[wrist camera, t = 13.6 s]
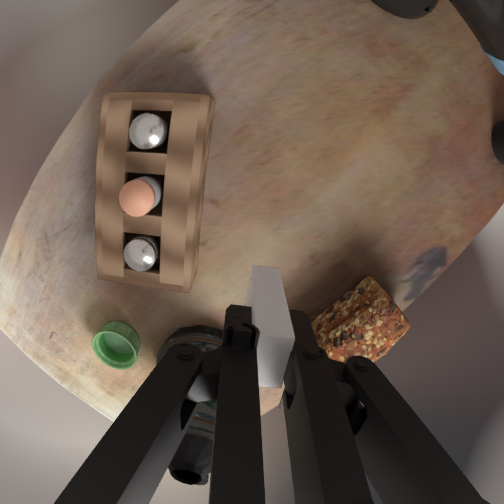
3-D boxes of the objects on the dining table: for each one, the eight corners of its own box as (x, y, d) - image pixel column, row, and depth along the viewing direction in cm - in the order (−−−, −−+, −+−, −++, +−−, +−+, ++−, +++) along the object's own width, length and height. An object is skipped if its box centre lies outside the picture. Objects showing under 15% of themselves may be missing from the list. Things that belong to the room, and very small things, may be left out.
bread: (367, 269, 49) (392, 297, 39) (396, 306, 52) (420, 336, 42) (285, 336, 53) (292, 374, 44) (320, 366, 56) (331, 402, 47)
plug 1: (147, 116, 38) (131, 113, 32) (177, 117, 38) (165, 114, 32) (144, 146, 40) (127, 148, 33) (173, 148, 40) (161, 150, 34)
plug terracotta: (137, 172, 39) (119, 179, 33) (167, 174, 39) (154, 181, 33) (135, 203, 41) (118, 214, 35) (165, 206, 41) (152, 218, 35)
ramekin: (149, 332, 52) (143, 347, 48) (135, 362, 55) (129, 377, 51) (106, 309, 51) (97, 322, 47) (96, 341, 53) (87, 354, 49)
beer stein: (215, 308, 51) (197, 430, 27) (270, 379, 57) (280, 490, 33) (143, 343, 53) (100, 450, 30) (202, 405, 59) (189, 506, 36)
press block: (123, 98, 38) (103, 92, 32) (215, 101, 39) (209, 95, 33) (115, 260, 47) (97, 279, 41) (196, 272, 48) (189, 293, 42)
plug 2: (139, 224, 44) (123, 238, 37) (167, 227, 44) (155, 242, 38) (138, 251, 45) (124, 269, 39) (165, 255, 45) (154, 273, 39)
